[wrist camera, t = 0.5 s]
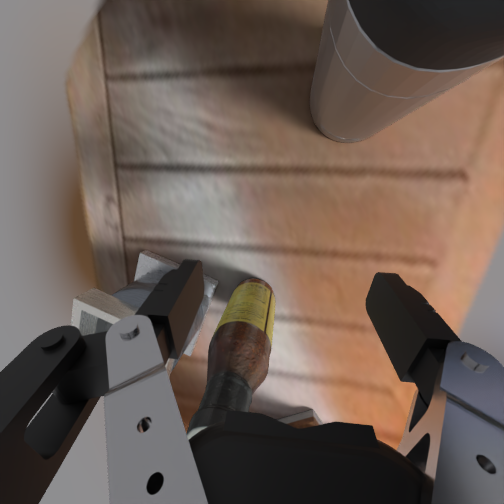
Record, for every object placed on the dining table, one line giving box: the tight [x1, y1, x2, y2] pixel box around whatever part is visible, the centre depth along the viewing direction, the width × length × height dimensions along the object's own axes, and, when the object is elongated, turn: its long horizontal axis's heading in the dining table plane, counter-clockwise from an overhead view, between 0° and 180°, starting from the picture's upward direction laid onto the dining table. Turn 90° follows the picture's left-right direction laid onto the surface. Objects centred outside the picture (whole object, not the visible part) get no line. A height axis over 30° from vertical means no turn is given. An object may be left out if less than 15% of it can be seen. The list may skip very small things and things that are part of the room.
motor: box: [71, 250, 219, 377], centre depth 30 cm, size 14×12×12 cm
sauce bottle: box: [187, 279, 275, 440], centre depth 24 cm, size 7×6×20 cm
